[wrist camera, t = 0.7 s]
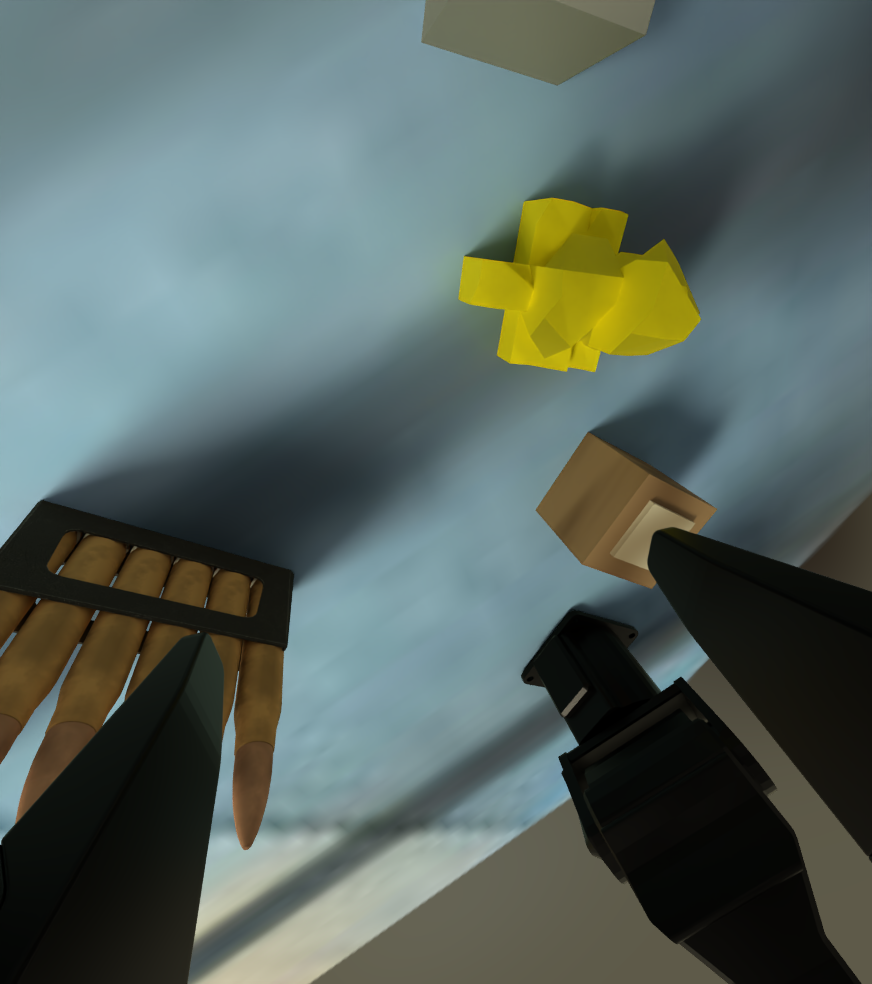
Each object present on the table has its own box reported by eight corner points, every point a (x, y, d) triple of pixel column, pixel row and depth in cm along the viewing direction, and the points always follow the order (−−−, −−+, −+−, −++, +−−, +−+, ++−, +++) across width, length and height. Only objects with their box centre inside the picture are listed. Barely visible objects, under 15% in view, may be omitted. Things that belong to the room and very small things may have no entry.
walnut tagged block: (649, 464, 26) (722, 512, 22) (597, 534, 28) (655, 592, 23) (587, 431, 24) (654, 477, 19) (534, 509, 25) (585, 568, 21)
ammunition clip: (294, 571, 23) (292, 830, 13) (279, 598, 24) (266, 866, 14) (39, 498, 19) (-270, 818, 8) (28, 535, 19) (-274, 874, 9)
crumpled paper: (471, 192, 17) (576, 169, 11) (648, 223, 20) (824, 218, 13) (450, 351, 20) (524, 409, 13) (608, 362, 22) (736, 416, 16)
